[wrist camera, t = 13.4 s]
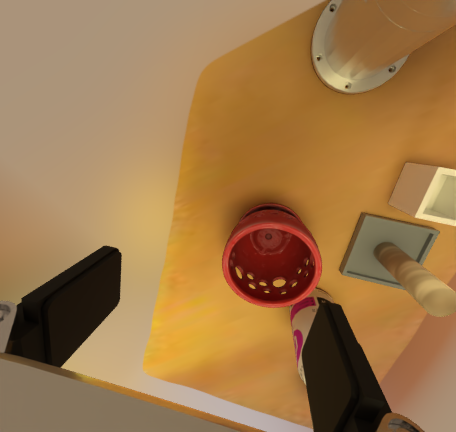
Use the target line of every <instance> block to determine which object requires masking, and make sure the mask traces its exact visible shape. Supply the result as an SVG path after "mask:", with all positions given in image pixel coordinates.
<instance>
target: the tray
mask: <svg viewBox="0 0 456 432" xmlns="http://www.w3.org/2000/svg"><path fill="white" fill-rule="evenodd" d="M439 232H440V231H438V230H436V229H434V228H431V227H427V226H422V225H418V224H413V223H408V222H404V221H399V220H395V219H390V218H385V217H381V216H376V215H371V214H367V213H362V214H361V216H360V219H359V221H358V224H357V226H356V229H355V231H354V234H353V236H352V239H351V241H350V244H349V246H348V249H347V251H346V254H345V256H344V259H343V261H342V264H341V267H340V269H339V271H340V272H341V274H342V275H345V276H349V277H353V278H357V279H361V280H365V281H370V282H374V283H378V284H382V285H386V286H390V287H394V288H399V289H403V290H406V289H405V288H404V287H403V286H402V285H401V284H400V283H399V282H398V281H397V280H396V279H395V278H394V277H393V276H392V275H391V274H390V273H389V272H388V271H387V270H386V269H385V267H384V266H383V265H382V264H381V263H380V262H379V261H378V260H377V259H376V258H375V257H374V249H375V247H376V246H377V245H379V244H380V243H383V242H391V243H393V244H395V245H396V246H397V247H399V248H400V249H401V250H402V251H404V252H405V253H406V254H407V255H409V256H410V257H411V258H413V259H414V260H415V261H416V262H418V263H419V264H420V265H421V266H422V264H423V263H424V261H425V259H426V257H427V255H428V253H429V251H430V249H431V247H432V246H433V244H434V242H435V240H436V238H437V236H438V234H439Z"/></svg>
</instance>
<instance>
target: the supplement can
mask: <svg viewBox="0 0 456 432" xmlns="http://www.w3.org/2000/svg"><path fill="white" fill-rule="evenodd" d="M326 301H327V302H331V303H334V301H333V299H332V298H331V297H330V296H329V295H328V293H326V292H324V291H322V290H319V289H314V290H313V291H312V292H311V293H310V294H309V295H308V296H307V297H306V298H305V299H303V300H302V301H300V302H298V303H296V304H293V305H290V306H289V311H290V318H291V325H292V332H293V339H294V346H295V354H296V361H297V368H298V372H299V374H300V377H301V379H302V380H303V381H304V383H305V384H306V381H305V375H304V369H303V363H302V349H303V346H304V343H305V341H306V338H307V336H308V333H309V330H310V328H311V325H312V323H313V320H314V317H315V315H316V312H317V310H318V307H319V305H320V304H324V303H325V302H326Z"/></svg>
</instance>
